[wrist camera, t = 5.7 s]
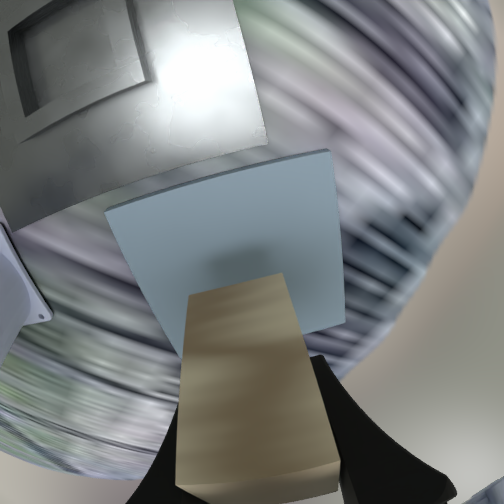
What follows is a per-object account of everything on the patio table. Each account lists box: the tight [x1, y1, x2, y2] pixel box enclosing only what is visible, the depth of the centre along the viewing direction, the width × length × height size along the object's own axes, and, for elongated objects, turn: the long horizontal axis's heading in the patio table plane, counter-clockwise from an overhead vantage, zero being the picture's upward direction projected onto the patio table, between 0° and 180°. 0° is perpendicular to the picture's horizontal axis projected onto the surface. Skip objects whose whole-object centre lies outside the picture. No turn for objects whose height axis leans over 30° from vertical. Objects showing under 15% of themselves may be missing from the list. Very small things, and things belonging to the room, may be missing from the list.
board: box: [104, 149, 345, 360], centre depth 17 cm, size 12×12×1 cm
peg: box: [175, 273, 340, 504], centre depth 10 cm, size 4×4×8 cm
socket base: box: [0, 0, 268, 233], centre depth 9 cm, size 16×16×2 cm
